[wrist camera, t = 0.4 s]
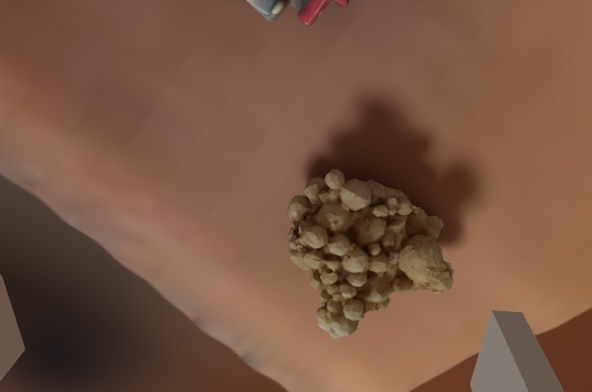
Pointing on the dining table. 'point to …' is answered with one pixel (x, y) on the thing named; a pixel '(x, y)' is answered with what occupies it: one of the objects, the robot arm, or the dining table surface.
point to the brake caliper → (308, 4)
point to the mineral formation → (363, 248)
